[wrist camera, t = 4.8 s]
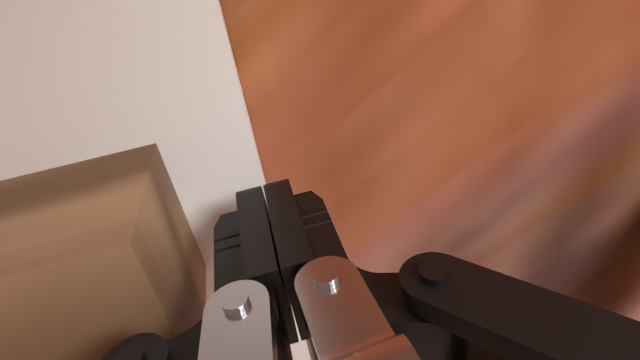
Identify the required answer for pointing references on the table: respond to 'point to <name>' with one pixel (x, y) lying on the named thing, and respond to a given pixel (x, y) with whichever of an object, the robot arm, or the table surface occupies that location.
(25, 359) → the walnut block
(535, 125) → the table surface
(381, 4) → the table surface
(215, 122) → the board
